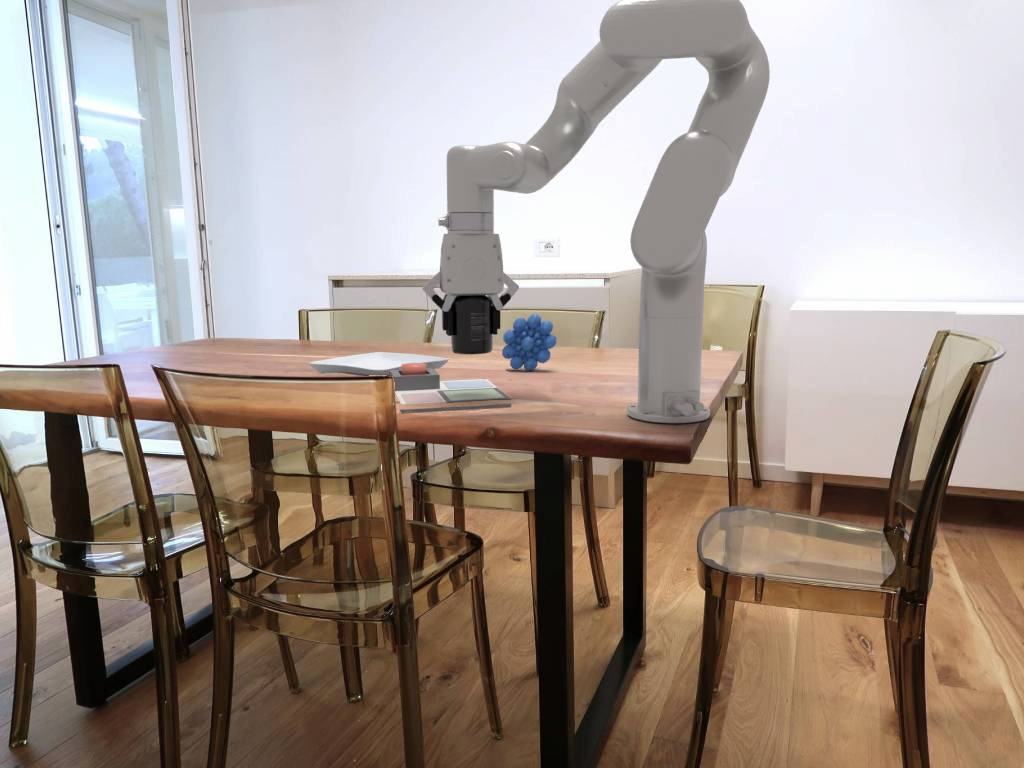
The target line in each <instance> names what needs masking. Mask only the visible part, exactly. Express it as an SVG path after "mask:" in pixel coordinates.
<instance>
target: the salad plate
mask: <svg viewBox="0 0 1024 768" xmlns="http://www.w3.org/2000/svg"><path fill="white" fill-rule="evenodd" d="M449 360H450V358H447V357H439V356H433V355H425V354H415V353H402V352H400V353H399V352H385V351H375V352H369V353H362V354H361V353H360V354H352V355H346V356H340V357H333V358H332V357H331V358H327V359H322V360H315V361H312V362H308V366H310V367H311V368H312V369H313V370H315V371H318V373H322V374H335V373H336V374H338V373H339V374H340V373H345V374H346V373H349V374H355V375H364V376H369V375H389V370H401V365H402V364H406V363H424V364H426V368H433V369H440V368H442V367H444V366H445V365H446V364H447V363H448V362H449ZM389 376H390V375H389Z"/></svg>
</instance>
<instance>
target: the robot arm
mask: <svg viewBox="0 0 1024 768" xmlns="http://www.w3.org/2000/svg"><path fill="white" fill-rule="evenodd" d="M598 32H599V39H600V40H599V41H598V42H597V44H596V45H595V46H593V48H592V49H591V50H590V51H588V53H587V54H585V56H583V58H582V59H581V60H580V61H579V62H578V63H577V64H576V65H574V67H573V68H572V69H571V70H570V71H569V72H568V73H566V75H564V77H563V78H562V80H561V82H560V83H559V85H558V88H557V93H556V100H555V103H554V107H553V110H552V111H551V113H550V115H549V117H548V118H547V119H546V121H545V122H544V123H543V125H542V126H541V127H540V128H539V129H538V130H537V131H536V132H535V134H533V135H532V137H531V138H530V139H528V140H527V142H526V143H520V142H515V141H503V142H496V143H491V144H487V145H486V144H485V145H477V144H475V145H474V144H472V145H471V144H462V145H457V146H453V147H451V148H449V149H448V151H447V154H446V201H447V203H446V205H447V206H446V208H447V209H446V211H447V213H446V215H445V216H442V217H438V222H437V223H438V227H443V228H446V231H447V233H443V236H442V241H441V246H440V247H441V248H440V259H439V260H440V261H439V271H438V272H437V273H436V274H435V275H433V277H431V278H430V279H429V280H428V281H427V282H426V283H425V284H424V285H423V286H422V287H421V288H422V289H421V290H422V291H423V292H424V293H425V294H426V295H427V296H428V297H429V298H430V299H431V301H432V302H433V303H434V304H435V305H436V306H437V307H438V308H439V309H440V310H441V319H442V321H441V323H442V327H441V328H442V330H443V331H445V334H446V335H447V336H448V337H451V336H452V335H453V312H452V311H451V305H452V303H453V301H454V298H455V297H456V296H465V295H486V296H487V297H489V298H490V300H491V302H492V335H494V336H496V335H498V330H500V329H501V311H502V310H503V308H504V307H505V305H506V304H507V303H509V302H510V300H511V299H512V297H514V295H515V294H516V293H517V291H518V290H519V288H520V286H519V284H517V282H515V281H514V280H513V279H512V278H511V277H510V276H509V275H507V274H506V273H505V272H504V264H503V263H504V261H503V252H502V251H503V249H502V243H501V238H500V237H501V236H500V234H499V233H495V231H494V230H495V223H494V222H495V221H494V219H495V217H494V215H495V213H494V211H495V210H494V207H495V204H494V201H495V197H494V196H495V195H494V194H495V192H494V190H496V191H502V192H510V193H518V194H522V195H523V194H525V195H527V194H533V193H536V192H537V191H540V190H542V189H543V188H544V187H546V185H548V184H549V183H550V182H551V181H552V180H553V179H554V178H555V177H556V176H557V175H558V174H560V172H561V171H562V170H564V168H565V167H567V165H568V164H570V163H571V162H572V160H573V159H574V158H575V157H576V156H577V155H578V153H579V152H580V151H581V150H582V148H583V147H584V146H585V144H586V143H587V141H588V140H589V139H590V138H591V137H592V135H593V134H594V132H595V130H596V129H597V128H598V126H599V124H600V123H601V122H602V121H603V120H604V119H605V118H606V117H607V116H608V115H609V114H610V113H611V112H612V111H613V110H614V109H615V108H616V107H617V106H618V105H619V104H620V103H621V102H622V101H623V100H624V99H625V98H626V97H628V95H629V94H630V93H632V91H633V90H635V88H636V87H638V86H639V84H640V83H642V81H644V80H645V78H647V77H648V76H649V75H650V74H651V73H652V72H653V71H654V70H655V69H656V68H657V67H658V65H659V64H660V63H661V62H662V61H663V60H669V59H671V60H672V59H686V58H687V59H689V58H692V59H693V58H694V59H696V61H697V62H698V63H699V64H700V65H701V66H702V67H703V68H704V69H705V70H706V72H707V75H708V84H707V87H706V89H705V91H704V93H703V95H702V97H701V98H700V101H699V102H698V103H699V104H698V106H697V109H696V111H695V115H694V117H693V119H692V121H691V123H690V126H689V128H688V130H687V132H685V133H683V134H681V135H680V136H677V137H676V138H675V139H674V140H673V141H672V142H671V143H670V144H669V145H668V146H667V148H666V149H665V151H664V153H663V155H662V156H661V158H660V160H659V162H658V165H657V167H656V169H655V172H654V175H653V177H652V179H651V182H650V185H649V187H648V189H647V191H646V194H645V195H644V199H643V201H642V203H641V206H640V207H639V211H638V213H637V215H636V218H635V220H634V222H633V226H632V229H631V231H630V233H631V234H630V250H631V252H632V253H631V254H632V255H633V257H634V259H635V261H636V262H637V264H639V266H640V267H641V278H640V291H639V292H640V294H639V317H638V320H639V321H638V322H639V323H638V364H637V365H638V367H637V369H638V373H637V374H638V375H637V402H635V403H632V404H630V405H628V406H627V415H628V416H630V417H631V418H633V419H636V420H639V421H644V422H649V423H659V424H660V423H661V424H662V423H663V424H691V423H697V422H702V421H706V420H707V419H709V418H710V416H711V409H710V408H709V407H707V405H704V403H702V402H701V387H702V386H701V383H702V382H701V381H702V379H701V378H702V354H703V353H702V352H703V351H702V350H703V320H704V318H703V317H704V299H705V298H704V297H705V295H704V293H705V279H706V267H707V256H708V242H707V241H708V240H707V233H706V230H707V227H708V225H709V223H710V220H711V218H712V216H713V213H714V211H715V209H716V207H717V205H718V202H719V200H720V198H721V197H722V196H723V195H724V194H725V193H727V191H728V190H729V188H730V186H731V185H732V183H733V180H734V178H735V174H736V171H737V168H738V166H739V164H740V161H741V158H742V156H743V154H744V152H745V149H746V147H747V145H748V142H749V140H750V137H751V135H752V132H753V129H754V126H755V124H756V122H757V119H758V117H759V114H760V112H761V110H762V108H763V105H764V102H765V100H766V97H767V93H768V90H769V85H770V78H771V77H770V74H771V73H770V63H769V59H768V54H767V51H766V48H765V47H764V45H763V43H762V41H761V39H760V38H759V37H758V35H757V33H756V32H755V31H754V29H753V28H752V26H751V25H750V21H749V19H748V14H747V10H746V9H745V6H744V4H743V3H742V2H741V1H740V0H619V1H617V2H615V3H613V5H611V6H610V7H609V8H608V10H607V11H606V12H605V14H604V15H603V17H602V19H601V22H600V26H599V31H598ZM438 284H439V289H440V292H443V293H444V296H443V298H442V297H441V296H439V294H438V293H436V291H435V287H437V286H438ZM505 286H506V287H507V288H506V290H505V292H504V293H502V292H503V291H504V288H505ZM501 293H502V294H501ZM499 294H501V295H500V296H499Z"/></svg>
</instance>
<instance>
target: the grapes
mask: <svg viewBox="0 0 1024 768" xmlns="http://www.w3.org/2000/svg"><path fill="white" fill-rule="evenodd" d="M512 326H513V327H512V329H508V330H506V331H505V332H504V334H503V339H502V340H503V342H504V343H505V346H504V347H503V348H502V351H501V355H502V356H503V358H504V359H507V360H509V361H510V363H509V366H510V367H511V369H513V370H519V369H521V368H524V369H525V370H526V371H527V372H533V371H535V369H536V368H537V367H538V363H541V364H545V363H547V362H548V361H549V360H551V351H550V350H551V349H553V348H554V347H555V346H556V345H557V341H558V340H557V337H556V335H554V334H551V333H552V331H553V327H554V325H553V323H552V321H550V320H544V321H542V318H541V316H540V315H539V314H538V313H537V314H536V313H533V314H531V315H529V317H528V318H527V319H526V318H524V317H518V318H516V319H515V320H514V321H513V323H512Z"/></svg>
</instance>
